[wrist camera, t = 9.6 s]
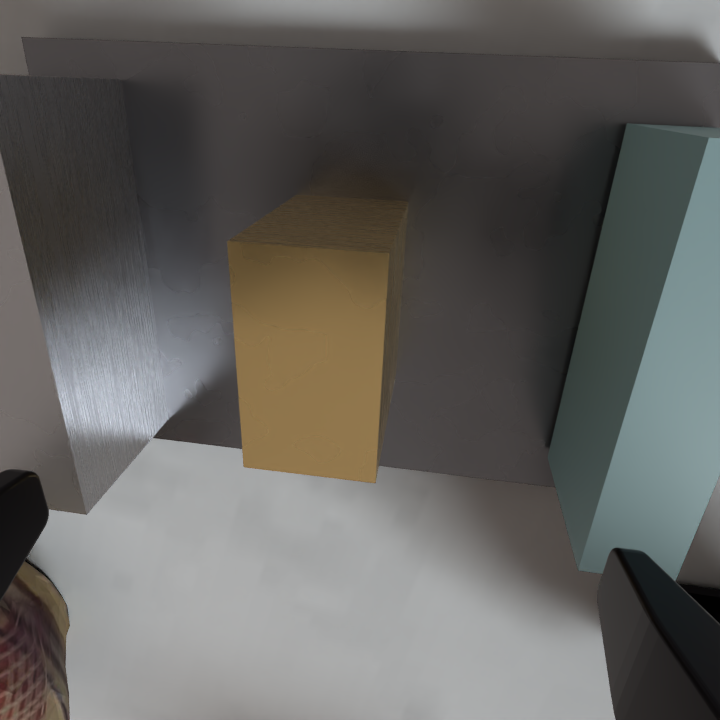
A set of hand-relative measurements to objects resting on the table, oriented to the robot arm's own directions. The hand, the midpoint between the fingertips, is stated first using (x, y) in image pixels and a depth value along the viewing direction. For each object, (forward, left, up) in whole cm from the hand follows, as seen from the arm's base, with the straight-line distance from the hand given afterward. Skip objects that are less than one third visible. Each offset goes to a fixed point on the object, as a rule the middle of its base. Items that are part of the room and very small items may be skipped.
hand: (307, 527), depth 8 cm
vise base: (+1, 0, -12) cm, 12 cm away
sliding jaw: (-8, 0, -11) cm, 13 cm away
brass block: (+1, 0, -11) cm, 11 cm away
